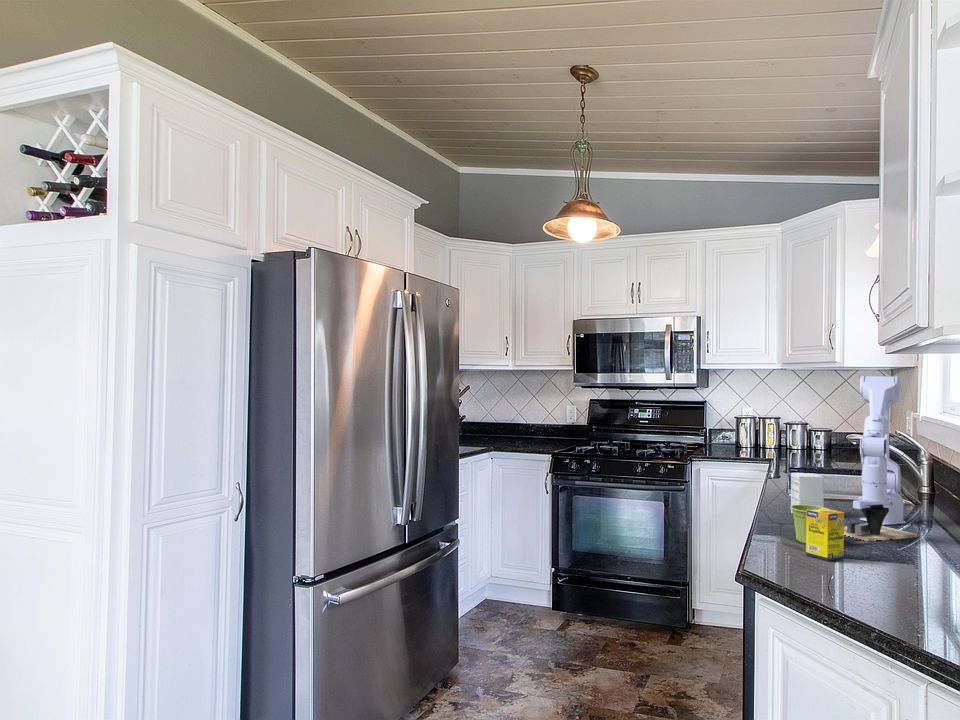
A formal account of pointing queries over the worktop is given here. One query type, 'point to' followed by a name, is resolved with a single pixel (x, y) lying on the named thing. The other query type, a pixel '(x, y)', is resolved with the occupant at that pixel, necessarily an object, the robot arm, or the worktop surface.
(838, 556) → the supplement box
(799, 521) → the plant pot
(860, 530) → the lock bar
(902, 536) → the jamb board
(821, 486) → the supplement box
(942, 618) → the worktop surface
